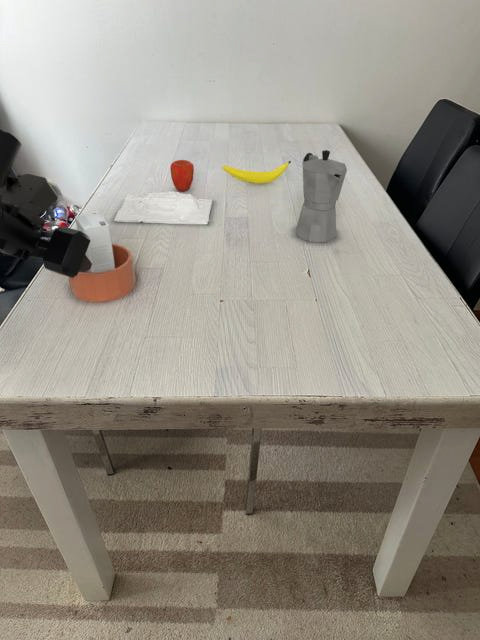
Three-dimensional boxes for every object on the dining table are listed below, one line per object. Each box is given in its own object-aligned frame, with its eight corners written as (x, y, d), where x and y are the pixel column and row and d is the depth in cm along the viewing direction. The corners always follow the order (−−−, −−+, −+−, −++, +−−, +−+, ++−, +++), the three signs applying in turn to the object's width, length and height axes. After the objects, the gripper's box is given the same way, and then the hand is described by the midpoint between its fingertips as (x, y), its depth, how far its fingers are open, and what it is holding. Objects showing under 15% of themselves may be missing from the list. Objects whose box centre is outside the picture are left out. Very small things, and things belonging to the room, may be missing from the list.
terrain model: (122, 203, 113) (119, 184, 110) (212, 198, 115) (210, 178, 112) (113, 230, 100) (108, 209, 97) (214, 224, 101) (213, 203, 98)
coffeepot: (349, 244, 94) (364, 158, 84) (309, 250, 92) (319, 162, 81) (317, 216, 106) (326, 137, 95) (280, 220, 104) (286, 140, 93)
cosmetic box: (85, 277, 81) (71, 215, 73) (109, 271, 82) (98, 210, 75) (95, 294, 76) (81, 229, 69) (120, 287, 78) (109, 223, 71)
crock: (76, 308, 74) (68, 280, 71) (68, 276, 82) (61, 249, 79) (142, 294, 78) (138, 267, 74) (128, 264, 86) (124, 239, 83)
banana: (221, 181, 124) (221, 158, 121) (288, 182, 125) (290, 159, 121) (221, 185, 122) (221, 162, 118) (289, 185, 123) (291, 162, 119)
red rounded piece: (198, 191, 118) (197, 163, 114) (176, 195, 116) (174, 166, 111) (189, 184, 123) (188, 156, 118) (168, 187, 120) (166, 159, 116)
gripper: (64, 172, 53) (133, 225, 67) (-40, 150, 59) (43, 202, 74) (30, 259, 52) (107, 293, 66) (-73, 226, 58) (18, 264, 73)
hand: (67, 259), depth 70 cm, fingers open, 9 cm apart
